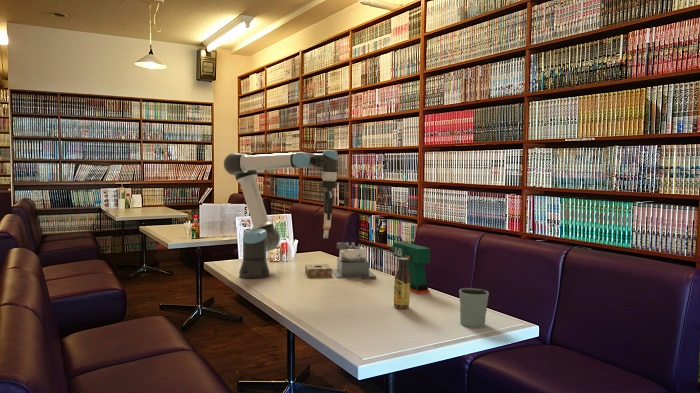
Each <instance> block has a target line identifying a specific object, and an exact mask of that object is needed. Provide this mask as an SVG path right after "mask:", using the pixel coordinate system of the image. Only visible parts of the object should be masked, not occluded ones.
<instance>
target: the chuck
mask: <svg viewBox="0 0 700 393" xmlns="http://www.w3.org/2000/svg"><path fill="white" fill-rule="evenodd" d="M336 249H339V254H338V255H339V257H338V258H339V260H341V261H346V262H362V261H366V260H367V248H366V247H363V246H356V243H355V242H351V245H350V242H343V241H342V242H341V241H340V242H337V243H336Z"/></svg>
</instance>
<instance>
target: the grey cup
mask: <svg viewBox="0 0 700 393" xmlns="http://www.w3.org/2000/svg"><path fill="white" fill-rule="evenodd" d="M458 292H459V313H460V315H459V316H460V320H459V323H460V325H461V326H463V327H466V328H471V329H481V328H484V327H485V326H486V314H487V311H488V310H487V309H488V308H487V307H488V301H489V296H490V293H489V291H488V290H486V289H481V288H475V287H474V288H473V287H465V288H464V287H463V288H460V289H459V290H458Z"/></svg>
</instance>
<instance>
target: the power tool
mask: <svg viewBox="0 0 700 393" xmlns="http://www.w3.org/2000/svg"><path fill="white" fill-rule="evenodd" d="M392 243H393V244H392V245H389V247H390V248H391V250H392V256H393V257H396V258H398V259H399V258H408V259H409V262H408V272H409V274H410V292H412V293H413V294H417V295H421V294H429V293H430V289H429V284H428V283H427V278H426V277H427V276H426V269H425V264H430V263H431V248H430V247H426V246H421V245H418V244H414V243H411V242H407V241H397V242H396V241H393V242H392Z"/></svg>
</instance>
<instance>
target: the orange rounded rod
mask: <svg viewBox="0 0 700 393" xmlns="http://www.w3.org/2000/svg"><path fill="white" fill-rule="evenodd" d="M331 217H332V214H331ZM325 221H326V215H325V216H323V227H322V228H323V236H322V237H323V238H322V239H327V240H328V238H329V232H330V230H331V227H329V226H325Z"/></svg>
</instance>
